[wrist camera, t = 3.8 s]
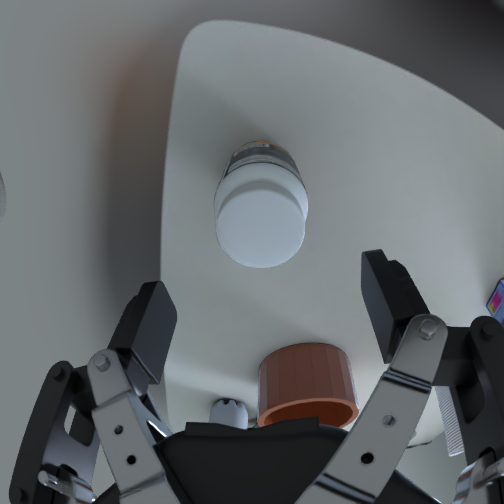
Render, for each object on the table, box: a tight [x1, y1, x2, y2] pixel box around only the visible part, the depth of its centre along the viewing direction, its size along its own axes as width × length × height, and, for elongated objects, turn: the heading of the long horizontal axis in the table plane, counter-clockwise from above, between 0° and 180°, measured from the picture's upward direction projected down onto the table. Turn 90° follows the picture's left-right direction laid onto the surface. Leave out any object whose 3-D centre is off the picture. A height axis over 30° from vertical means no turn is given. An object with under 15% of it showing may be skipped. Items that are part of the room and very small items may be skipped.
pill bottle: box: [214, 141, 308, 268], centre depth 19 cm, size 6×6×10 cm
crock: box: [257, 343, 359, 428], centre depth 35 cm, size 13×13×8 cm
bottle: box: [209, 400, 248, 429], centre depth 37 cm, size 7×7×20 cm
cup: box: [435, 386, 465, 456], centre depth 34 cm, size 8×8×16 cm
